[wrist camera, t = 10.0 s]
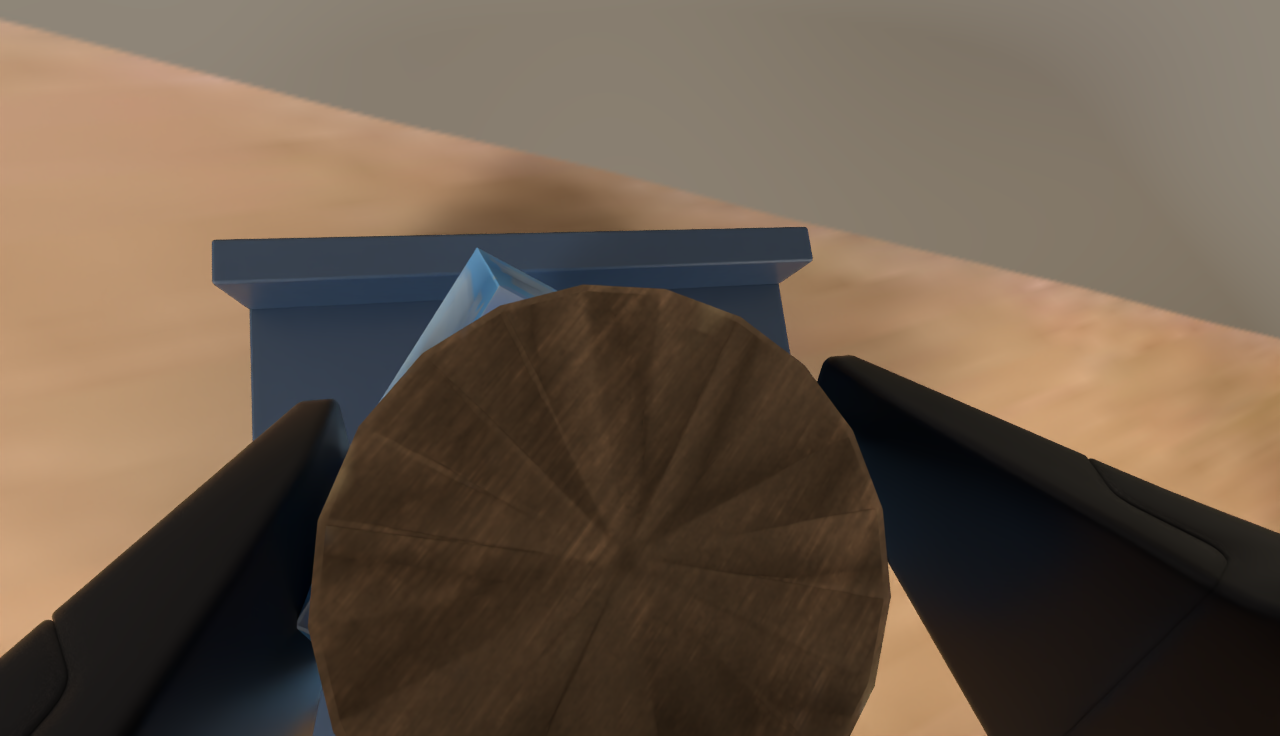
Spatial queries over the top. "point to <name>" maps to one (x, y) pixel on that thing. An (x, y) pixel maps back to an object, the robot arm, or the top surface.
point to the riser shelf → (421, 279)
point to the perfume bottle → (597, 529)
